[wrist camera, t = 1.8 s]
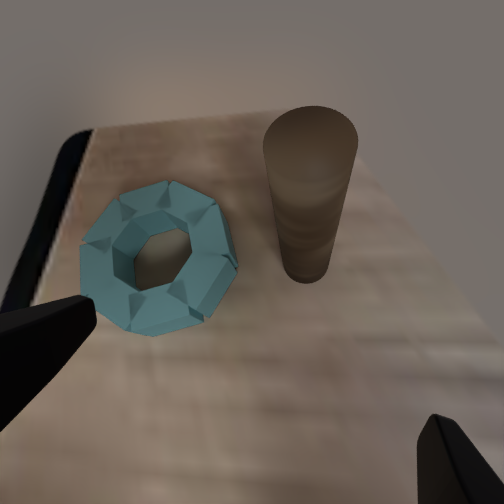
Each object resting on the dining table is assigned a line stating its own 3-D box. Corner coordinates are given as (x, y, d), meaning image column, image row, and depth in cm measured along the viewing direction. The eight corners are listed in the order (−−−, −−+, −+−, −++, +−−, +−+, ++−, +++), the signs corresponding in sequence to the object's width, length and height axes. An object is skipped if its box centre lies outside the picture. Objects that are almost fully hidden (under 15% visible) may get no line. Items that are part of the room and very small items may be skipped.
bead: (109, 349, 22) (81, 345, 19) (102, 224, 26) (78, 207, 23) (248, 309, 21) (240, 300, 19) (219, 189, 25) (209, 166, 23)
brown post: (290, 288, 21) (276, 193, 10) (278, 248, 23) (253, 122, 11) (334, 276, 21) (373, 164, 10) (319, 236, 22) (338, 95, 11)
